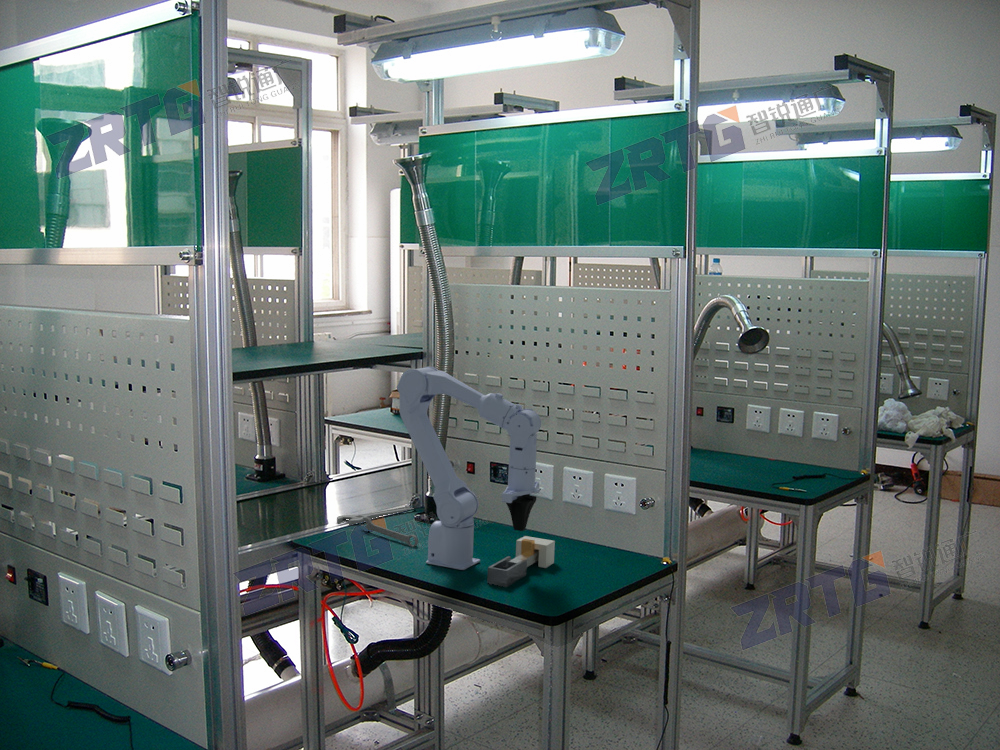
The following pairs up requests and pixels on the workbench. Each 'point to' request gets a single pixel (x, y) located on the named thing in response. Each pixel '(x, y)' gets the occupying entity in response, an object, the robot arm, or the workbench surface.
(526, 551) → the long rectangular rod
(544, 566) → the socket block
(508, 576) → the sleeve
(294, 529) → the workbench surface
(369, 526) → the combination wrench
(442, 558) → the robot arm
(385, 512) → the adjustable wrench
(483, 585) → the workbench surface
